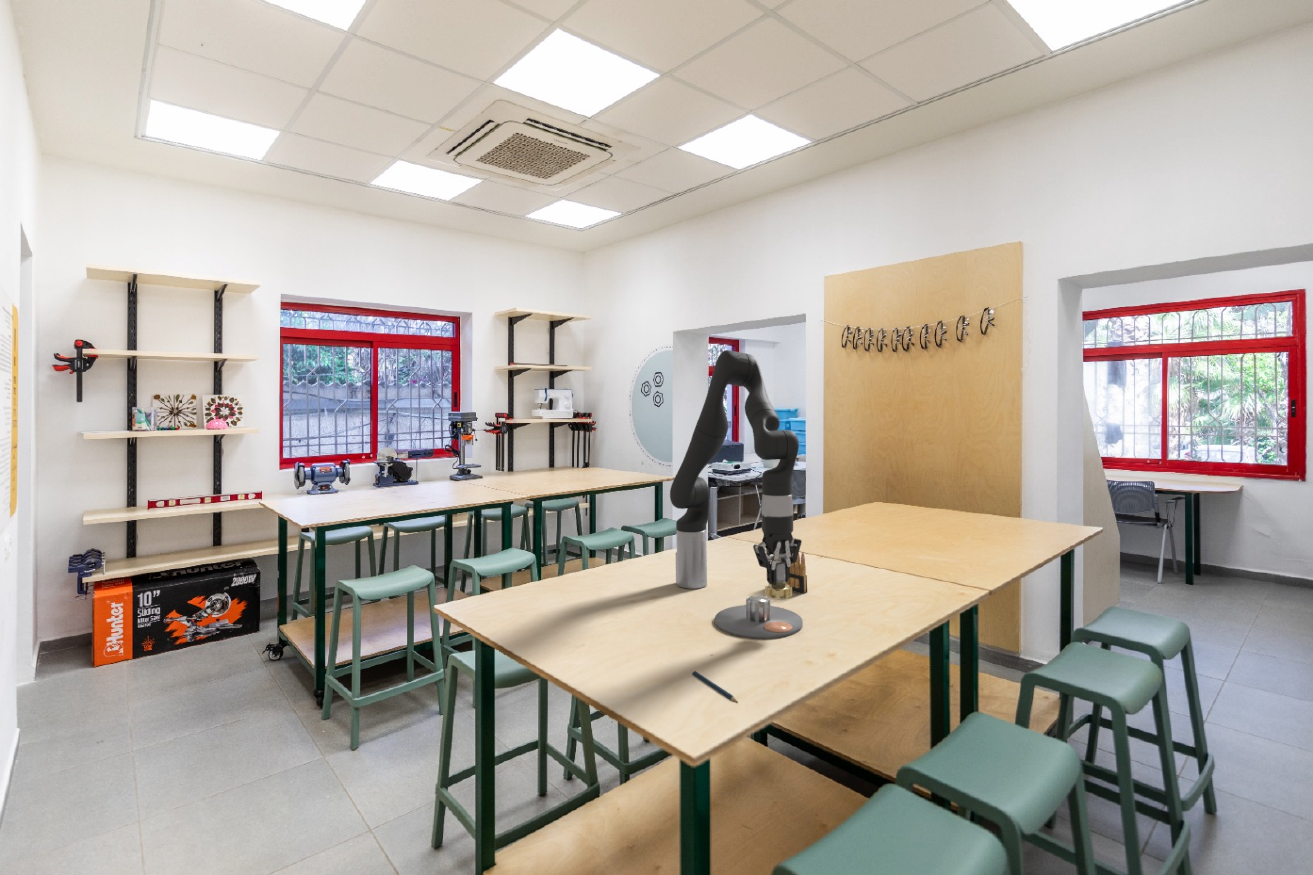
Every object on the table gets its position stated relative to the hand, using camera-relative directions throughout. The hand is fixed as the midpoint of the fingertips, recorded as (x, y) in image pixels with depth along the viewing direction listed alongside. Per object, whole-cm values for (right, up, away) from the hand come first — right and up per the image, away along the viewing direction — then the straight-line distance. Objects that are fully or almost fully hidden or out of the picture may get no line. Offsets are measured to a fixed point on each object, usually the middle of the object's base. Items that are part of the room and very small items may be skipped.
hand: (778, 582), depth 154 cm
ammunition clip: (+10, -10, +35) cm, 38 cm away
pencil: (-18, -15, -29) cm, 37 cm away
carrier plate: (-4, -12, +7) cm, 14 cm away
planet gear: (0, -3, 0) cm, 3 cm away
